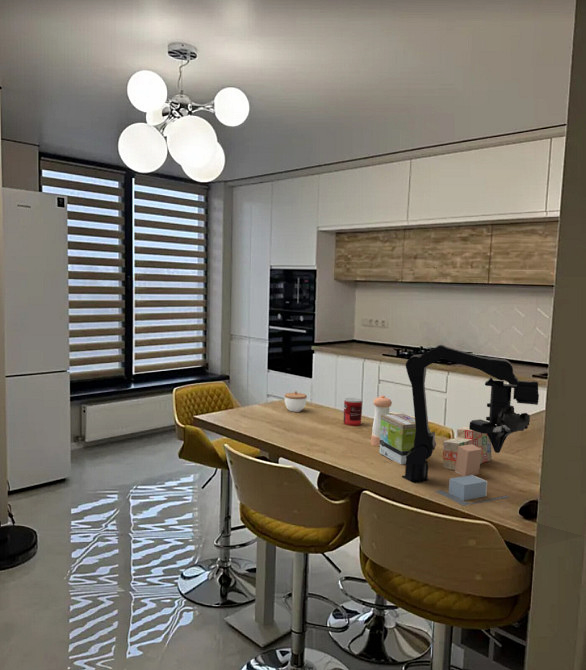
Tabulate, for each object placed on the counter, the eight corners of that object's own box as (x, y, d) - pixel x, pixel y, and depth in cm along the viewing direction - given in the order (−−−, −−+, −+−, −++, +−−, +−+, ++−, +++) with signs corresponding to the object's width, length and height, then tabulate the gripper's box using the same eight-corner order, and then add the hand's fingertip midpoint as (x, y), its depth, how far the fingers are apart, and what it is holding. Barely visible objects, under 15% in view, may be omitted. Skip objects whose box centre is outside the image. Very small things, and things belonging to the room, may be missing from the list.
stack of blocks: (459, 471, 186) (458, 434, 186) (443, 468, 191) (441, 432, 191) (492, 460, 200) (490, 425, 201) (475, 457, 205) (474, 423, 205)
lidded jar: (306, 408, 278) (307, 390, 277) (305, 413, 267) (306, 394, 266) (285, 407, 279) (286, 388, 278) (282, 412, 268) (283, 392, 267)
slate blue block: (486, 496, 165) (463, 500, 161) (471, 489, 170) (448, 493, 166) (487, 481, 164) (464, 485, 160) (472, 474, 170) (449, 478, 166)
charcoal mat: (463, 507, 157) (463, 505, 157) (434, 492, 167) (434, 491, 167) (509, 498, 165) (509, 496, 165) (478, 484, 176) (479, 483, 176)
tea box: (378, 453, 205) (380, 413, 204) (401, 451, 209) (403, 412, 208) (400, 466, 191) (403, 423, 190) (425, 464, 195) (428, 422, 194)
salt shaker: (368, 445, 216) (371, 396, 214) (373, 440, 223) (375, 393, 221) (387, 447, 213) (390, 398, 212) (391, 443, 220) (394, 395, 219)
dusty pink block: (478, 475, 185) (482, 449, 183) (464, 477, 182) (468, 451, 181) (468, 469, 189) (472, 444, 187) (455, 471, 186) (458, 446, 184)
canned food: (348, 420, 255) (349, 397, 255) (364, 423, 251) (365, 399, 250) (339, 423, 249) (341, 399, 248) (355, 426, 245) (357, 402, 244)
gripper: (499, 409, 157) (495, 463, 158) (544, 404, 165) (541, 456, 166) (469, 401, 166) (466, 453, 168) (514, 397, 175) (510, 446, 176)
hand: (497, 452), depth 169 cm, fingers closed
